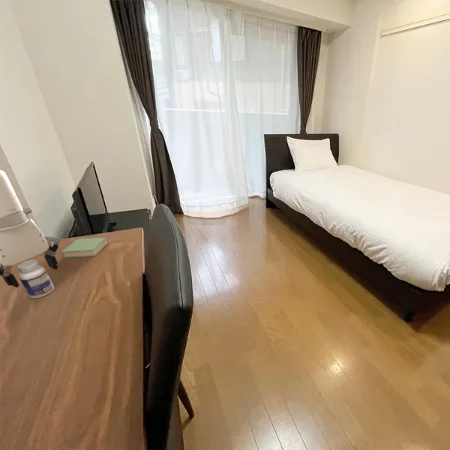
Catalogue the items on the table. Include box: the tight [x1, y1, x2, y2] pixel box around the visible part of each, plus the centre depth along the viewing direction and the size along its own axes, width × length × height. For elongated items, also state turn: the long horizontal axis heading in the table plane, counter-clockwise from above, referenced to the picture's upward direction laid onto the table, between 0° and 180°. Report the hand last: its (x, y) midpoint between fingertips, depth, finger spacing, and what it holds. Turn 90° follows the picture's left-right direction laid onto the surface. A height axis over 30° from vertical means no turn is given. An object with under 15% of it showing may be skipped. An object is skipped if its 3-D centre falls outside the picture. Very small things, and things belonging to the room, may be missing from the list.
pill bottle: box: [17, 259, 55, 299], centre depth 75 cm, size 5×5×10 cm
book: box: [61, 237, 109, 259], centre depth 97 cm, size 10×9×2 cm
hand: (35, 276), depth 75 cm, fingers open, 8 cm apart
